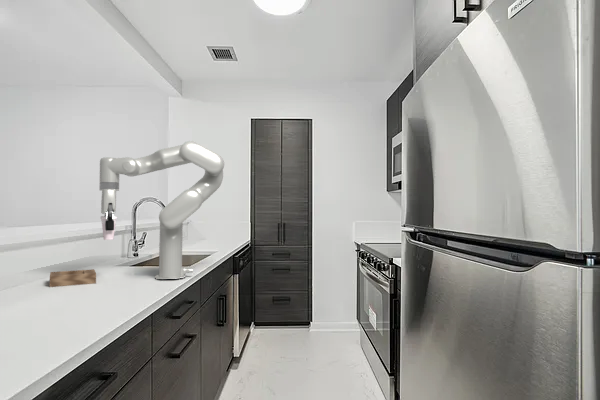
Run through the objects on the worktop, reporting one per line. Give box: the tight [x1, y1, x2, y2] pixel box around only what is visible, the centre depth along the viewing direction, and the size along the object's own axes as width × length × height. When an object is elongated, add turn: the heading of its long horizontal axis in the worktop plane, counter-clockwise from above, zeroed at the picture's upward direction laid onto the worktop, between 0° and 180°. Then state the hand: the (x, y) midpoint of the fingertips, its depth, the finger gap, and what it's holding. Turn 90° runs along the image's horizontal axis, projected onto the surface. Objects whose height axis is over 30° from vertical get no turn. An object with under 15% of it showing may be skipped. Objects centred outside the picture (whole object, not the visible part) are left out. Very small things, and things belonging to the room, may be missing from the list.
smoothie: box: [100, 206, 118, 241], centre depth 171 cm, size 6×6×14 cm
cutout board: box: [49, 268, 97, 288], centre depth 166 cm, size 16×12×4 cm
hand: (108, 229), depth 171 cm, fingers closed on smoothie, 6 cm apart
